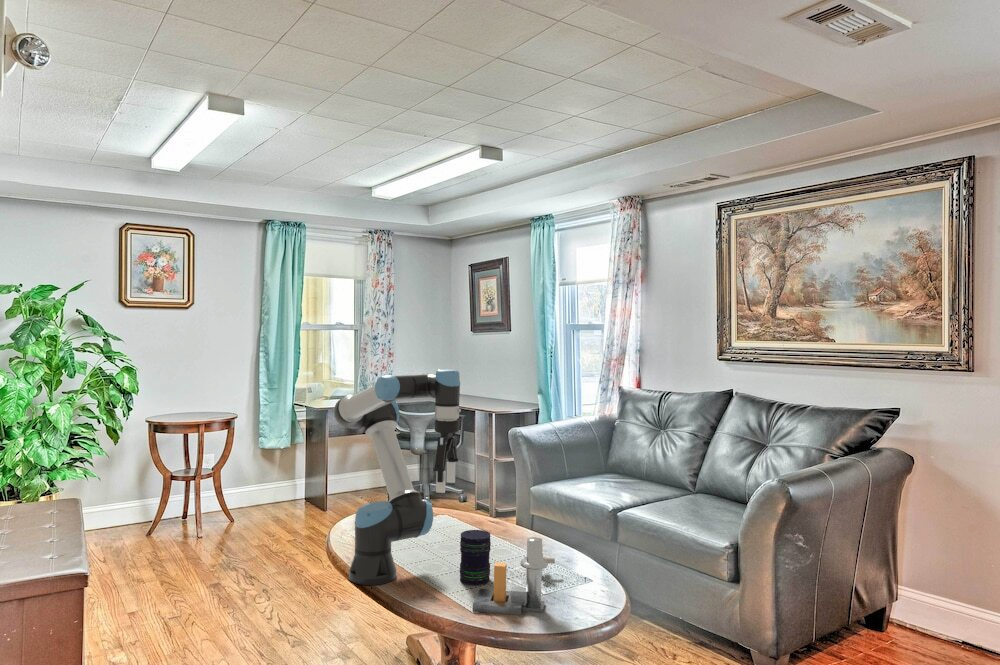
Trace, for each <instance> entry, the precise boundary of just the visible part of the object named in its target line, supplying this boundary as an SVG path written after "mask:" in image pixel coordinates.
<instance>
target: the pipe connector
mask: <svg viewBox="0 0 1000 665" xmlns="http://www.w3.org/2000/svg"><path fill="white" fill-rule="evenodd" d="M543 547H544V546H543V544H542V549H544V548H543ZM543 553H544V552H542V559H545V560H546V561H548V564H551V565H552V564H553V565H555V563H556V562H555V561H556V560H555V559H556V557H544V554H543ZM525 558H527V556H524V557H523V559H525Z"/></svg>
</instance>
